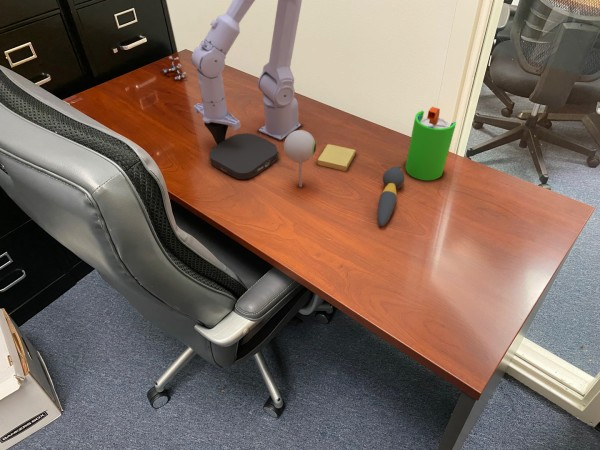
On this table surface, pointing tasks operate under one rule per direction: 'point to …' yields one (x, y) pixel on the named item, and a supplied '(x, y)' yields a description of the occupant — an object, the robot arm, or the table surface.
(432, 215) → the table surface
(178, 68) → the molecule model
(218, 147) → the media streaming box
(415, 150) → the green upright cylinder
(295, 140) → the lollipop
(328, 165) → the sticky note pad
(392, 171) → the grey microphone
